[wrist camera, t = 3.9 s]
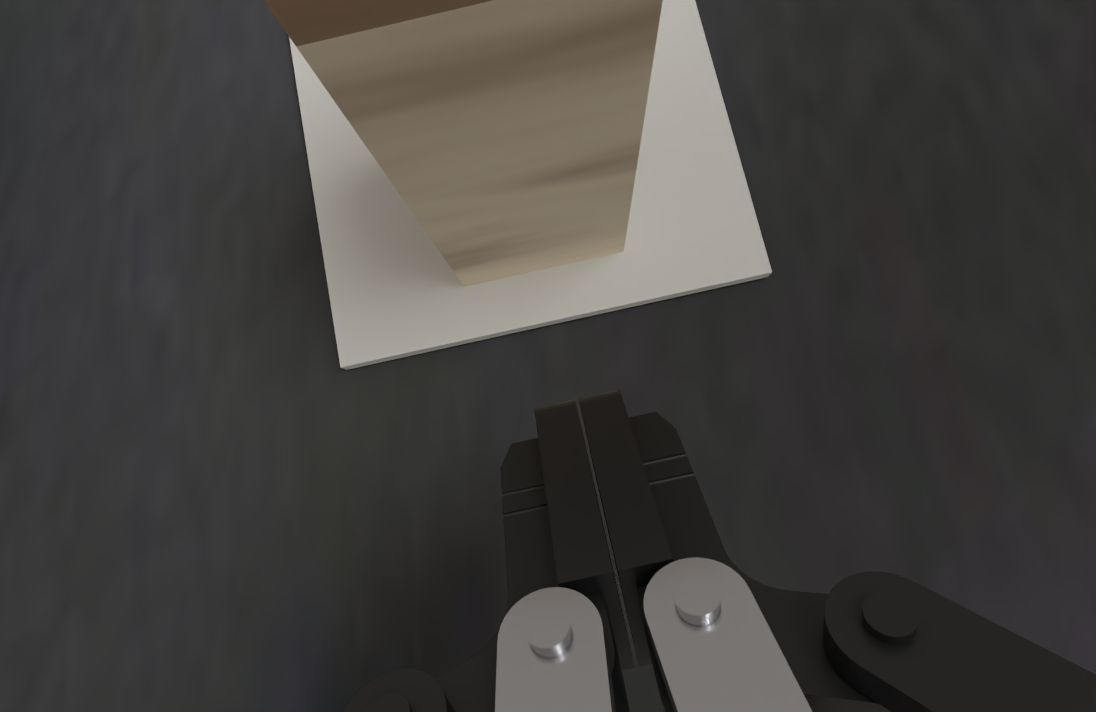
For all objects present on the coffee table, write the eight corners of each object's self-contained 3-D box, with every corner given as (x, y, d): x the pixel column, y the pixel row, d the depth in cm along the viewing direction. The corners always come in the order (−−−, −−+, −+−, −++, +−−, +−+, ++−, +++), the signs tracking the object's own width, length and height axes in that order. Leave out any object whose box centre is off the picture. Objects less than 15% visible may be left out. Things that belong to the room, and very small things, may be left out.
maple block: (435, 139, 25) (176, -409, 9) (588, 104, 25) (584, -511, 9) (464, 286, 24) (227, -53, 8) (623, 251, 24) (687, -163, 8)
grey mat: (263, -158, 29) (256, -172, 28) (620, -246, 28) (621, -261, 28) (346, 370, 24) (340, 367, 24) (767, 276, 24) (772, 272, 23)
